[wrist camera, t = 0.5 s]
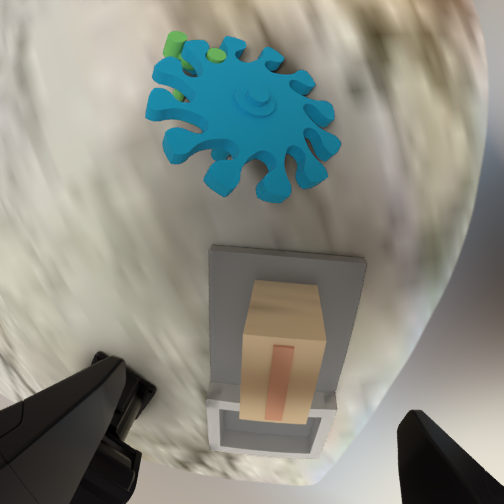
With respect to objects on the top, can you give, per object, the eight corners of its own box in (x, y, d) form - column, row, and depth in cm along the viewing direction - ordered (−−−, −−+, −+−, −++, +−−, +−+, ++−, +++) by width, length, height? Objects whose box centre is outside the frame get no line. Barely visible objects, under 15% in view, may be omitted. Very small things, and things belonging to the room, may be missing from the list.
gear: (375, 136, 16) (257, 240, 11) (318, 179, 21) (211, 271, 17) (248, 8, 15) (96, 50, 11) (217, 67, 20) (94, 123, 16)
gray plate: (315, 442, 27) (315, 465, 25) (215, 433, 28) (210, 456, 25) (363, 257, 20) (374, 277, 17) (212, 244, 21) (200, 262, 18)
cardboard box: (303, 362, 23) (305, 426, 17) (249, 358, 23) (238, 421, 17) (317, 284, 20) (326, 343, 14) (254, 279, 21) (242, 336, 15)
